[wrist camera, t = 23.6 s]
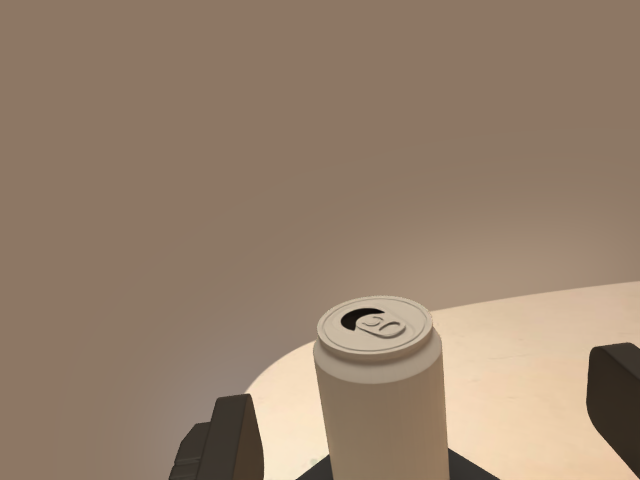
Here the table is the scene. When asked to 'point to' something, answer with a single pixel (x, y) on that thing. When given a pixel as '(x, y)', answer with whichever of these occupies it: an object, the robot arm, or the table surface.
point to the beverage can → (382, 390)
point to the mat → (461, 471)
